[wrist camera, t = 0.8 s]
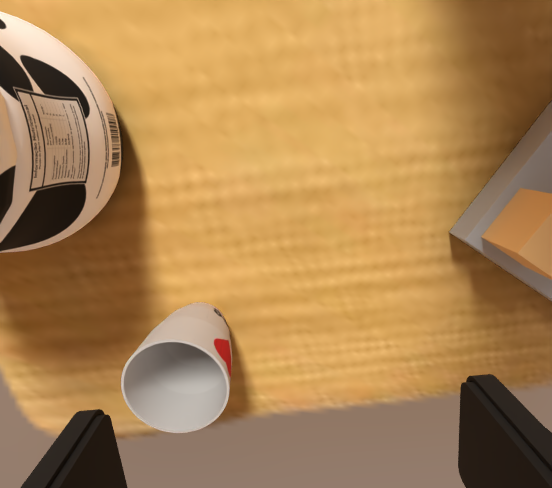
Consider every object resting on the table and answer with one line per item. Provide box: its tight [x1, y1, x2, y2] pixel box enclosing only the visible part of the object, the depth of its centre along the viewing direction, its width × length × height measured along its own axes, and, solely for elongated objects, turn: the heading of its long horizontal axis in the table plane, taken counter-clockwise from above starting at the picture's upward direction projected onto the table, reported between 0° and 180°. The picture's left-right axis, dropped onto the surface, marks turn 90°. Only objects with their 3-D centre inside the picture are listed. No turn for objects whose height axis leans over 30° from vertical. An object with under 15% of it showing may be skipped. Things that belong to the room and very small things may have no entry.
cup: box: [121, 302, 232, 433], centre depth 33 cm, size 8×8×10 cm
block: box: [481, 188, 552, 280], centre depth 30 cm, size 5×5×5 cm
